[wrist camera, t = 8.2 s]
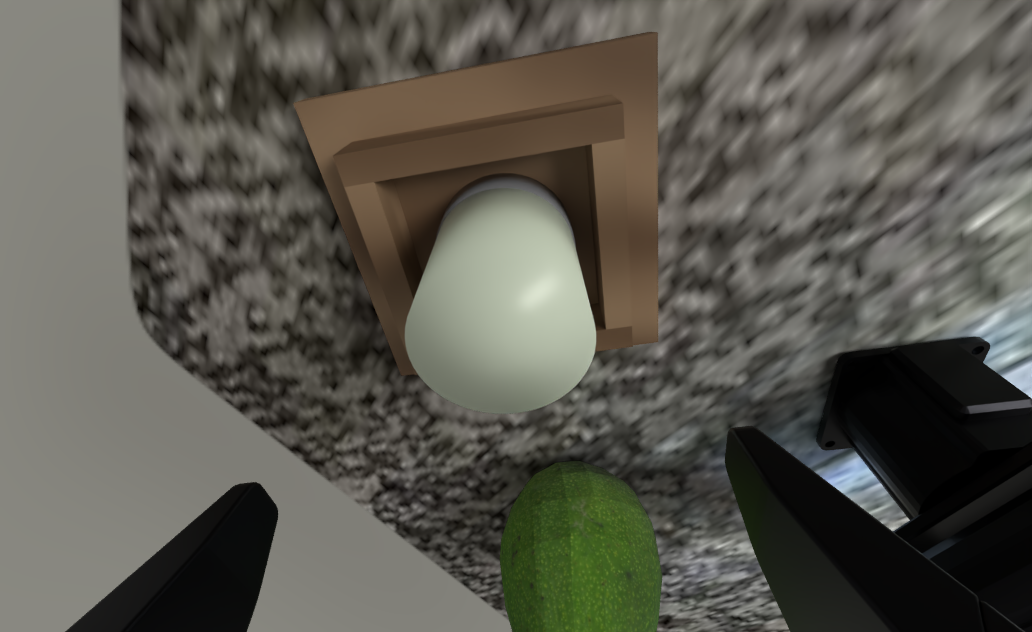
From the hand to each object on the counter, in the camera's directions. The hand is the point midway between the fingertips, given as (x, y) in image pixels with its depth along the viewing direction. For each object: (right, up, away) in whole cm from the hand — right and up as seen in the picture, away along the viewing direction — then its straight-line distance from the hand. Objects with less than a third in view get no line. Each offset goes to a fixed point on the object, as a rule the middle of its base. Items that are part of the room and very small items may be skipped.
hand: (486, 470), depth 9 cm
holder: (0, +6, +10) cm, 12 cm away
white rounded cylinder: (0, +6, +9) cm, 11 cm away
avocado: (+4, -7, +19) cm, 20 cm away
